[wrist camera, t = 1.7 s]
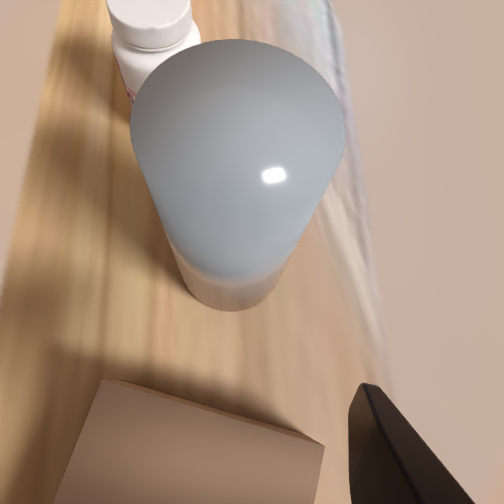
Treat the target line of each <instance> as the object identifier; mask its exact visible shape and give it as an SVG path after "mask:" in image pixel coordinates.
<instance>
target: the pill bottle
mask: <svg viewBox="0 0 504 504" xmlns="http://www.w3.org/2000/svg"><path fill="white" fill-rule="evenodd" d="M106 3H107V8H108V11H109V15H110V19H111V23H112V26H113V30H112V36H111V41H112V47H113V51H114V55H115V58H116V61H117V64H118V67H119V70H120V73H121V76H122V79H123V82H124V84H125V88H126V91H127V94H128V97H129V100H130V103H131V106H133V103H134V100H135V97H136V95H137V92H138V91H139V89H140V87H141V86H142V84H143V82H144V81H145V80H146V78H147V77H148V76H149V75H150V73H151V72H152V71H153V70H154V69H155V68H156V67H157V66H159V65H160V64H161V63H162V62H164V61H165V60H166V59H168V58H169V57H171V56H172V55H174V54H176V53H178V52H179V51H182V50H184V49H186V48H189V47H191V46H194V45H198V44H201V37H200V33H199V30H198V28H197V26H196V24H195V22H194V21H193V20H192V11H191V1H190V0H106Z"/></svg>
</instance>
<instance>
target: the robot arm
mask: <svg viewBox="0 0 504 504" xmlns="http://www.w3.org/2000/svg"><path fill="white" fill-rule="evenodd" d="M348 441H349V484H350V494H351V502H352V504H475V503H474V502H473V500H472V499H471V498H470V497H469V496H468V494H467V493H466V492H465V491H464V489H463V488H462V487H461V486H460V485H459V483H458V482H457V481H456V480H455V478H454V477H453V476H452V475H451V474H450V473H449V471H448V470H447V469H446V467H445V466H444V465H443V464H442V463H441V461H440V460H439V459H438V458H437V456H436V455H435V454H434V453H433V452H432V450H431V449H430V448H429V447H428V446H427V444H426V443H425V442H424V441H423V440H422V438H421V437H420V436H419V435H418V433H417V432H416V431H415V430H414V429H413V427H412V426H411V425H410V424H409V422H408V421H407V420H406V419H405V417H404V416H403V415H402V414H401V413H400V411H399V410H398V409H397V408H396V406H395V405H394V404H393V403H392V402H391V400H390V399H389V398H388V397H387V395H386V394H385V393H384V392H383V391H382V389H381V388H380V387H378V386H376V385H372V384H368V383H361V384H360V385H359V387H358V389H357V392H356V394H355V396H354V398H353V401H352V403H351V405H350V408H349V413H348Z"/></svg>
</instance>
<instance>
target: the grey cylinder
mask: <svg viewBox="0 0 504 504" xmlns="http://www.w3.org/2000/svg"><path fill="white" fill-rule="evenodd" d="M130 134H131V141H132V145H133V149H134V152H135V155H136V158H137V160H138V163H139V165H140V168H141V171H142V173H143V176H144V178H145V181H146V184H147V186H148V189H149V192H150V194H151V197H152V199H153V202H154V205H155V207H156V210H157V212H158V215H159V218H160V220H161V223H162V225H163V228H164V231H165V233H166V236H167V239H168V241H169V244H170V246H171V249H172V252H173V254H174V257H175V259H176V262H177V265H178V267H179V270H180V272H181V275H182V278H183V280H184V282H185V285H186V286H187V288H188V290H189V291H190V292H191V294H192V295H193V296H194V297H195V298H196V299H197V300H198V301H200V302H201V303H203V304H204V305H206V306H208V307H210V308H213V309H216V310H220V311H228V312H233V311H241V310H245V309H248V308H251V307H253V306H255V305H257V304H258V303H260V302H261V301H263V300H264V299H265V298H266V297H267V296H268V295H269V294H270V293H271V291H272V290H273V288H274V287H275V285H276V283H277V281H278V279H279V277H280V275H281V273H282V272H283V270H284V268H285V266H286V264H287V262H288V260H289V258H290V256H291V255H292V253H293V251H294V249H295V247H296V245H297V243H298V241H299V239H300V238H301V236H302V234H303V232H304V230H305V228H306V226H307V224H308V223H309V221H310V219H311V217H312V215H313V213H314V211H315V209H316V207H317V206H318V204H319V202H320V200H321V198H322V196H323V194H324V192H325V190H326V189H327V187H328V185H329V183H330V181H331V179H332V177H333V175H334V173H335V171H336V169H337V167H338V165H339V163H340V161H341V158H342V155H343V152H344V146H345V139H346V130H345V121H344V115H343V112H342V109H341V106H340V103H339V101H338V99H337V97H336V95H335V93H334V92H333V90H332V89H331V87H330V85H329V84H328V83H327V82H326V80H325V79H324V78H323V77H322V76H321V75H320V74H319V73H318V72H317V71H316V70H315V69H314V68H313V67H312V66H310V65H309V64H308V63H306V62H305V61H304V60H302V59H301V58H299V57H297V56H295V55H294V54H292V53H290V52H288V51H285V50H283V49H281V48H278V47H275V46H272V45H269V44H266V43H261V42H257V41H250V40H241V39H226V40H215V41H210V42H205V43H201V44H198V45H194V46H191V47H189V48H186V49H184V50H182V51H179V52H178V53H176V54H174V55H172V56H171V57H169V58H168V59H166V60H165V61H164V62H162V63H161V64H160V65H159V66H157V67H156V68H155V69H154V70H153V71H152V72H151V73H150V75H149V76H148V77H147V78H146V80H145V81H144V82H143V84H142V86H141V87H140V89H139V91H138V92H137V95H136V97H135V100H134V103H133V106H132V111H131V115H130Z"/></svg>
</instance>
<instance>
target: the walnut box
mask: <svg viewBox="0 0 504 504" xmlns="http://www.w3.org/2000/svg"><path fill="white" fill-rule="evenodd" d="M324 448H325V446H323V445H322V444H320V443H318V442H317V441H315V440H313V439H312V438H310V437H308V436H307V435H304V434H301V433H297V432H294V431H291V430H287V429H284V428H281V427H277V426H274V425H271V424H268V423H264V422H261V421H258V420H254V419H251V418H248V417H244V416H241V415H238V414H234V413H231V412H228V411H224V410H221V409H218V408H214V407H211V406H208V405H204V404H201V403H198V402H194V401H191V400H188V399H184V398H181V397H178V396H174V395H171V394H168V393H164V392H161V391H158V390H154V389H151V388H148V387H144V386H141V385H138V384H134V383H131V382H128V381H125V380H107V379H102V380H101V383H100V385H99V388H98V390H97V393H96V395H95V398H94V400H93V403H92V406H91V408H90V411H89V413H88V416H87V418H86V421H85V423H84V426H83V428H82V431H81V433H80V436H79V438H78V441H77V443H76V446H75V448H74V451H73V453H72V456H71V458H70V461H69V463H68V466H67V468H66V471H65V474H64V476H63V479H62V481H61V484H60V486H59V489H58V491H57V494H56V496H55V499H54V501H53V504H314V500H315V495H316V490H317V484H318V479H319V474H320V469H321V464H322V458H323V453H324Z"/></svg>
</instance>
